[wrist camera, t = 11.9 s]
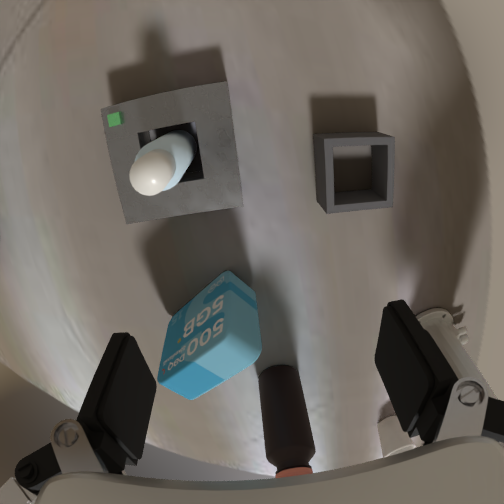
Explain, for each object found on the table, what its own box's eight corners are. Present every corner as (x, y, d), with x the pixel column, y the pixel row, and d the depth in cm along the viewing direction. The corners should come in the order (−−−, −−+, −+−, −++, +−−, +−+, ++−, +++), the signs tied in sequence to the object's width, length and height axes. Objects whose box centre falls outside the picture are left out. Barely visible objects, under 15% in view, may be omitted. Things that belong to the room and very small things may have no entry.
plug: (193, 126, 29) (171, 141, 18) (199, 163, 31) (182, 198, 20) (156, 133, 29) (116, 154, 18) (163, 169, 31) (128, 208, 20)
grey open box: (377, 131, 30) (394, 137, 26) (377, 195, 34) (392, 207, 30) (313, 134, 30) (324, 138, 26) (316, 201, 34) (326, 213, 30)
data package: (230, 265, 37) (230, 334, 26) (255, 286, 39) (264, 357, 28) (169, 318, 40) (154, 387, 30) (193, 335, 42) (186, 404, 31)
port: (227, 83, 27) (226, 80, 23) (242, 194, 33) (243, 208, 29) (115, 107, 27) (98, 109, 23) (137, 210, 33) (124, 226, 29)
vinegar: (253, 386, 48) (263, 494, 31) (264, 361, 45) (279, 480, 28) (290, 389, 50) (309, 492, 32) (304, 365, 47) (331, 476, 29)
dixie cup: (366, 427, 61) (376, 460, 52) (394, 409, 58) (407, 443, 49) (381, 432, 64) (392, 462, 55) (407, 415, 61) (420, 446, 52)
